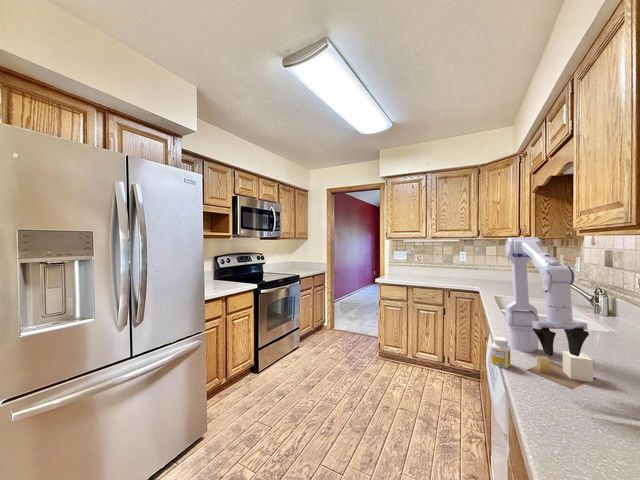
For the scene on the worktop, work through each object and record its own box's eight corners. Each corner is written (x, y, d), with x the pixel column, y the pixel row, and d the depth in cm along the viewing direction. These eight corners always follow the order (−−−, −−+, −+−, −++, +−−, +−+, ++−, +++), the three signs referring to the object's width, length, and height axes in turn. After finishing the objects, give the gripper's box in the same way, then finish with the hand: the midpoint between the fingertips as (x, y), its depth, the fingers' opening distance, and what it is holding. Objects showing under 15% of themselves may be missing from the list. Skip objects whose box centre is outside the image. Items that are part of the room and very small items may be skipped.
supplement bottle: (502, 362, 94) (502, 335, 94) (514, 370, 89) (514, 341, 89) (488, 363, 94) (487, 335, 94) (498, 371, 89) (498, 341, 89)
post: (536, 368, 88) (536, 355, 88) (546, 370, 87) (546, 356, 87) (540, 372, 85) (539, 358, 85) (550, 374, 84) (550, 360, 84)
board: (550, 364, 93) (550, 361, 93) (597, 381, 82) (597, 378, 82) (525, 372, 87) (525, 369, 87) (571, 392, 76) (571, 388, 76)
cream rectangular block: (562, 370, 86) (562, 350, 86) (583, 373, 84) (583, 352, 84) (570, 378, 81) (570, 357, 81) (593, 382, 79) (593, 360, 79)
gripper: (545, 308, 74) (548, 359, 72) (597, 309, 74) (601, 360, 73) (525, 304, 81) (528, 351, 80) (572, 305, 81) (576, 351, 80)
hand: (561, 354), depth 77 cm, fingers open, 7 cm apart
